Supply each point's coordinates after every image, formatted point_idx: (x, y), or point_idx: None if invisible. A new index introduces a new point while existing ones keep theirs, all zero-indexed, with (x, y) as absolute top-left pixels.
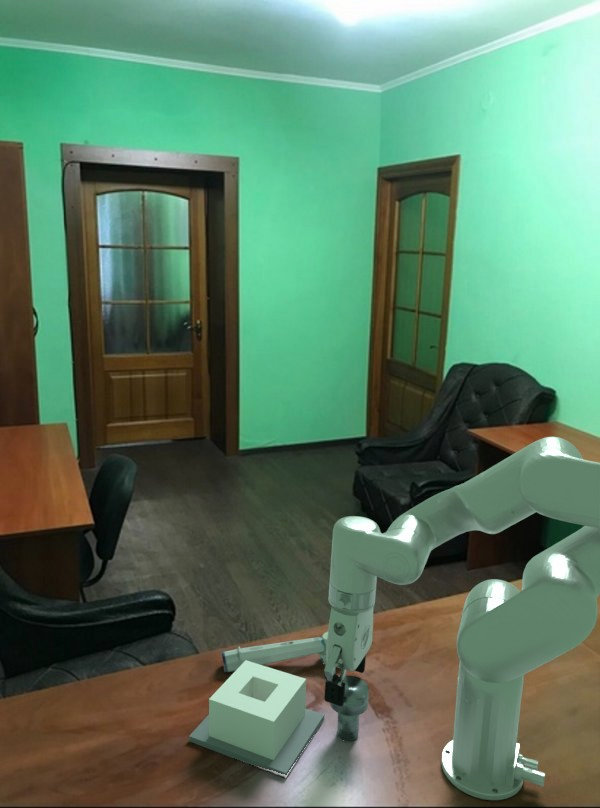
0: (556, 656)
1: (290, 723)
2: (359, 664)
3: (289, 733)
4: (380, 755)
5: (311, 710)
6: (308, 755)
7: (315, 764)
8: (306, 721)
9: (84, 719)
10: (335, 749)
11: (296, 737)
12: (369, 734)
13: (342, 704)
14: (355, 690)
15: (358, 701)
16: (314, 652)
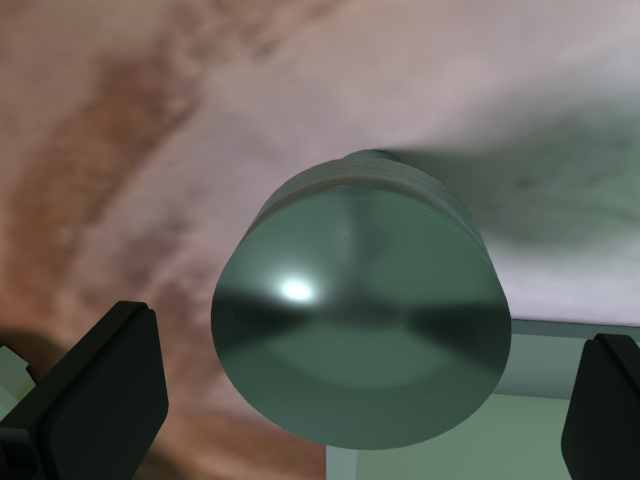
0: None
1: (520, 440)
2: (126, 373)
3: (517, 407)
4: (447, 3)
5: None
6: (556, 298)
7: (601, 259)
8: None
9: None
10: (484, 214)
11: (506, 373)
12: (327, 105)
13: (633, 342)
14: (372, 294)
15: (466, 235)
16: None
